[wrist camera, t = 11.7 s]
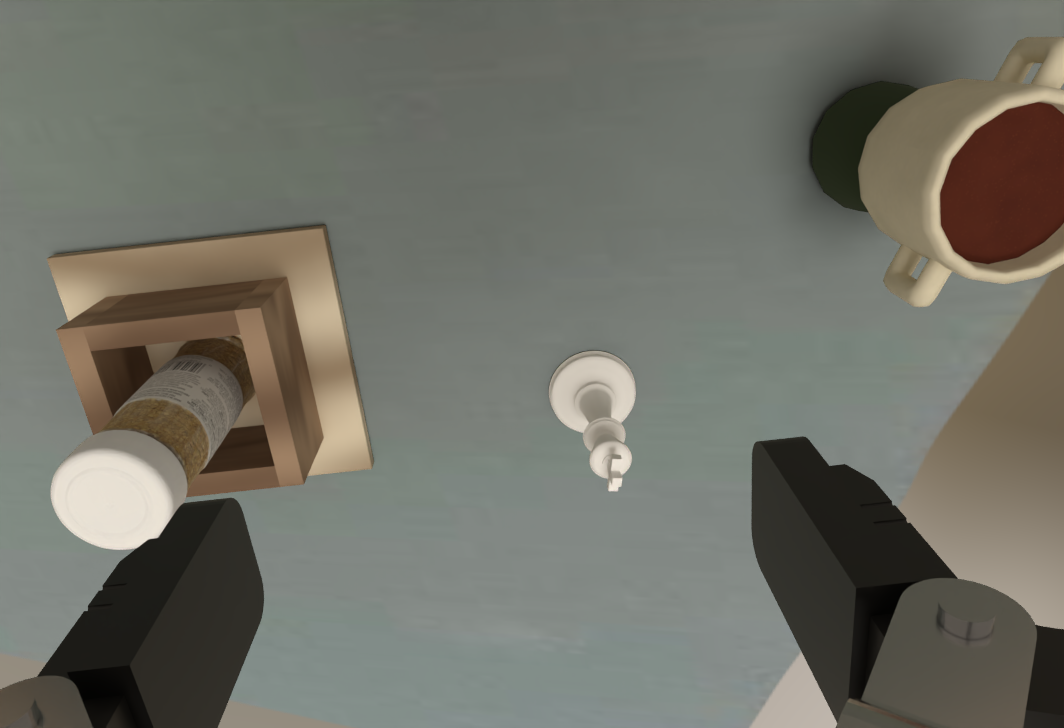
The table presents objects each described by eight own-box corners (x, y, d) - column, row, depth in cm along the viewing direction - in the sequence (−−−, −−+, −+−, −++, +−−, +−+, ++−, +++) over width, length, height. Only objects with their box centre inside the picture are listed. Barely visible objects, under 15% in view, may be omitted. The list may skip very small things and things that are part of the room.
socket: (54, 254, 40) (-13, 287, 35) (325, 224, 40) (299, 253, 35) (134, 487, 46) (87, 547, 40) (373, 461, 46) (357, 517, 40)
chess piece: (545, 427, 46) (558, 526, 36) (552, 348, 44) (567, 431, 34) (629, 431, 46) (663, 530, 37) (640, 352, 44) (678, 436, 35)
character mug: (873, 266, 43) (1021, 356, 31) (757, 221, 41) (863, 295, 29) (985, 65, 39) (1204, 77, 27) (861, 8, 38) (1031, -6, 26)
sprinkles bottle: (177, 401, 43) (48, 547, 31) (177, 323, 41) (41, 444, 29) (262, 412, 43) (170, 560, 31) (266, 335, 42) (170, 460, 29)
